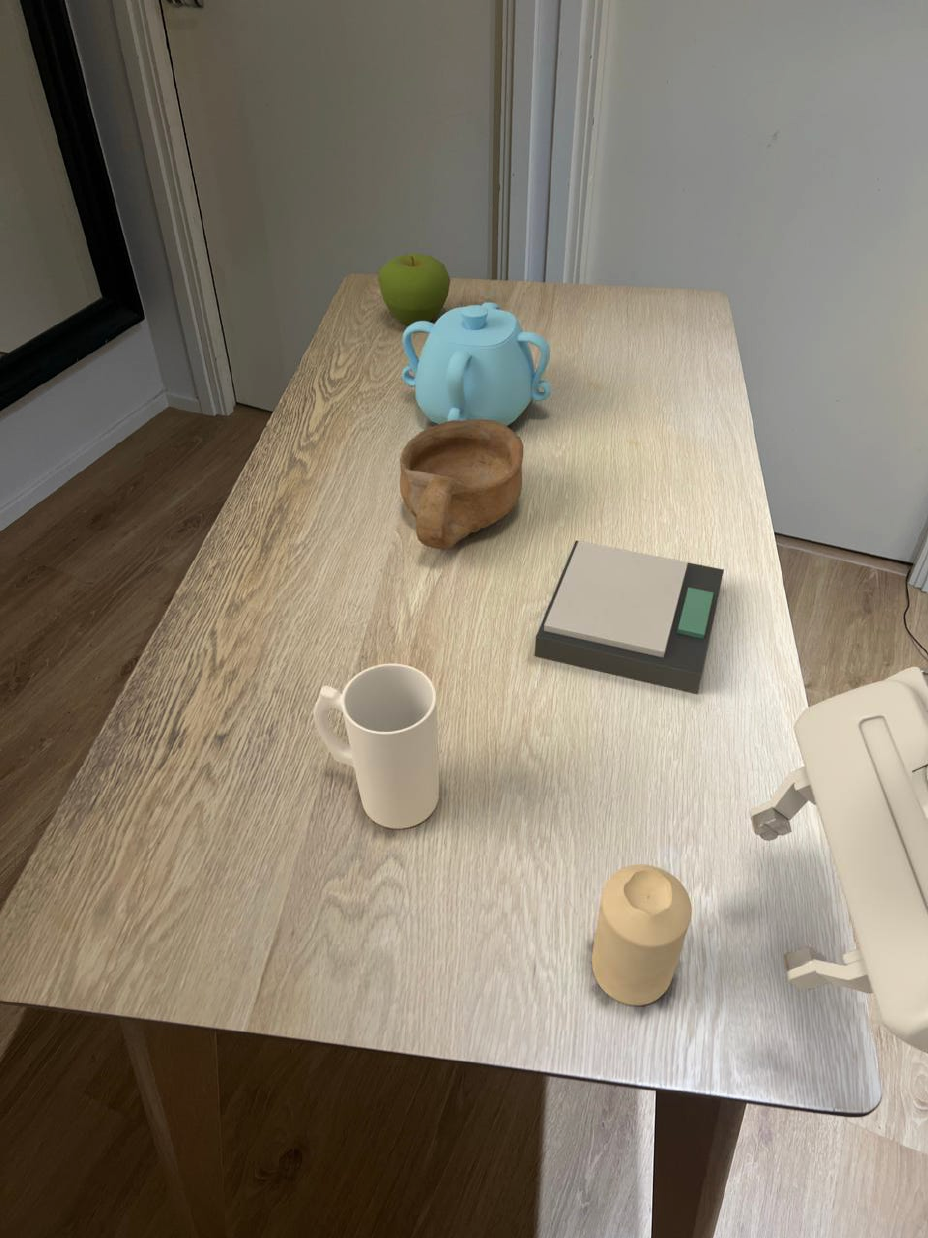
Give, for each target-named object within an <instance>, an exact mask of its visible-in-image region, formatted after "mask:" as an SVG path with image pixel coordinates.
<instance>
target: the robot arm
mask: <svg viewBox="0 0 928 1238" xmlns="http://www.w3.org/2000/svg"><path fill="white" fill-rule="evenodd" d="M927 676H928V667H918V666H911V667H907V668H904V669H902V670H900V671H899V672H897V673H894V674H892V675H890V676H888V677H887V678H885V679H883V680H879V681H875V682H872V683H868V684H865V685H862V686H859V687H857V688H853V689H850V690H847V691H844V692H842V693H839V694H837V695H834V696H832V697H829V698H827V699H824V700H822V701H820V702H818V703H814V704H813V705H811V706H809V707H807V708H806V709H805V710H803V711H802V712H801V714H800V715H799V716H798V718H797V720H796V721H795V723H794V724H793V733H794V735H795V739H796V743H797V745H798V749H799V752H800V756H801V759H802V761H803V766H802V767H799V768H797V769H795V770H793V771H791V772H789V774H787V776H786V777H785V779H784V780H783V781H782V782H781V784H780V785H779V786H778V788H777V789H776V791H775V792H774V793H773V794H772V796H770V800H768V801H765V802H763V803H761V804H760V805H757V806H755V807H753V808H751V809H750V810H749V817H750V821H751V825H752V828H753V833H754V834H755V835H756V836H759V837H760V838H761V839H762V840H763V841H766V842H767V841H768V842H771V841H774V840H776V839H778V837H779V836H782V837H783V836H785V835H788V834H789V833H792V832H793V831H792V826H791V822H790V821H791V820H792V819H793V818H794V817H795V816H796V814H798V812H799V811H801V810H802V808H803V807H804V806H805V805H806V804H807V803H808V802H810V803H811V804H812V805H814V806H816V808H817V813H818V815H819V818H820V822H821V826H822V829H823V832H824V835H825V838H826V842H827V845H828V849H829V853H830V855H831V859H832V862H833V866H834V868H835V872H836V875H837V879H838V882H839V884H840V889H841V892H842V895H843V898H844V902H845V905H846V908H847V911H848V915H849V918H850V922H851V925H852V929H853V932H854V935H855V938H856V941H857V945H858V948H856V949H854V950H851V951H848V952H845V953H843V954H842V959H843V963H844V964H845V965H843V964H838V963H833V962H829V961H828V960H827V957H826V956H825V955H824V954H823V953H821V952H819V951H817V950H816V949H815V948H814V947H812V946H811V945H809V944H807V945H804V946H802V947H799V948H797V949H796V950H795V952H794V951H788V952H786V953H784V954H783V961H784V966H785V970H786V975H787V979H788V983H789V984H791V985H792V986H794V987H795V988H796V989H798V990H801V991H810V990H813V989H816V988H819V987H823V986H825V985H829V984H833V985H835V986H839V987H841V988H846V989H850V990H853V991H857V992H861V993H864V994H869V995H871V994H873V999H874V1001H875V1005H876V1007H877V1008H876V1009H877V1011H878V1015H879V1018H880V1021H881V1023H882V1025H883V1027H884V1028H885V1029H886V1030H887V1031H888V1032H889V1033H891V1034H892V1035H894V1036H895V1037H897V1039H899V1040H900V1041H902V1042H903V1043H906V1044H907V1045H909V1046H911V1047H913V1048H914V1049H916V1050H919V1051H920V1052H923V1053H926V1054H928V677H927Z"/></svg>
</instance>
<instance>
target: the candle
mask: <svg viewBox="0 0 928 1238" xmlns="http://www.w3.org/2000/svg"><path fill="white" fill-rule="evenodd" d="M692 908H693V907H692V902H691V898H690V895H689V893H688V891H687V890H686V888H685V887H684V885H683V884H682V882H680V881H679V879H678V878H676V876H674V875H673V874H671V873H670V872H669V871H667V870H665V869H663V868H661V867H658V866H654V865H650V864H642V863H641V864H631V865H628V866H624V867H622V868H620V869H618V870H617V871H615V872H614V873H613V874H612V875H611V876H610V877H609V878H608V879H607V881H606V882H605V884H604V887H603V890H602V893H601V898H600V905H599V911H598V916H597V922H596V929H595V934H594V941H593V945H592V954H591V955H592V956H591V968H592V972H593V975H594V978H595V981H596V982H597V984H598V985H599V987H600V988H601V990H602V991H604V993H605V994H607V995H608V996H609V997H610V998H612V999H613V1000H615V1001H617V1002H619V1003H622V1004H625V1005H629V1006H644V1005H648V1004H651V1003H654V1002H656V1001H657V1000H659V999H660V998H661V997H662V996H663V995H664V994H665V993H666V992H667V990H668V989H669V987H670V985H671V982H672V979H673V977H674V976H675V975H674V974H675V971H676V968H677V965H678V962H679V960H680V959H679V958H680V955H681V952H682V950H683V946H684V943H685V939H686V936H687V933H688V930H689V927H690V924H691V919H692V915H693V914H692V913H693V909H692Z"/></svg>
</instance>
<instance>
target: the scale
mask: <svg viewBox="0 0 928 1238" xmlns="http://www.w3.org/2000/svg"><path fill="white" fill-rule="evenodd" d="M724 572H725V569H724V568H718V567H713V566H708V565H703V564H699V563H693V562H688V561H683V560H679V559H672V558H668V557H663V556H658V555H652V554H648V553H643V552H638V551H632V550H628V549H622V548H618V547H612V546H607V545H602V544H596V543H591V542H587V541H582V540H575V541H574V543H573V546H572V547H571V551H570V553H569V556H568V558H567V561H566V563H565V565H564V567H563V570H562V572H561V575H560V578H559V579H558V583H557V585H556V587H555V590H554V592H553V594H552V597H551V599H550V602H549V604H548V606H547V609H546V611H545V614H544V616H543V619H542V621H541V623H540V626H539V628H538V630H537V633H536V636H535V644H534V656H535V657H537V658H542V659H546V660H550V661H555V662H559V663H562V664H567V665H572V666H576V667H580V668H584V669H589V670H593V671H598V672H601V673H605V674H610V675H614V676H619V677H623V678H628V679H632V680H635V681H641V682H645V683H648V684H653V685H657V686H662V687H666V688H671V689H675V690H680V691H683V692H687V693H692V694H697V695H698V692H699V689H700V684H701V680H702V677H703V671H704V667H705V661H706V658H707V657H706V656H707V652H708V648H709V643H710V638H711V634H712V629H713V624H714V619H715V614H716V610H717V605H718V601H719V597H720V591H721V587H722V582H723V577H724Z"/></svg>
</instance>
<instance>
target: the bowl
mask: <svg viewBox="0 0 928 1238" xmlns="http://www.w3.org/2000/svg"><path fill="white" fill-rule="evenodd" d="M524 450H525V449H524V443H523V440H522V439H521V438H520V436H519V435H518V434H517V433H516V432H515V431H513V430H512V429H511V428H509V427H508V426H505V425H504V424H502V423H500V422H497V421H493V420H487V419H472V420H461V421H458V420H451V421H447V422H444V423H441V424H436V425H433V426H430V427H428V428H426V429H424V430H422V431H420V432H419V433H417V434H416V435H415V436H414V437H413V438H411V439H410V440H409V441H408V442H407V443H406V445H405V446H404V447H403V448H402V451H401V454H400V458H399V464H400V465H399V466H400V476H399V493H400V495H401V498H402V500H403V501H404V504H405V506H406V507H407V509H408V510H409V512H410V514H411V515H412V517H414V518H415V519H416V520H415V521H416V523H415V534H416V538H417V539H418V541H419V542H420V543H421V544H423V545H424V546H426V547H428V548H431V549H435V550H436V549H437V550H445V549H450V548H452V547H454V545H456V544H457V543H458V542H459V541H461V540H462V539H464V538H467V536H468V535H469V534H471V533H476V532H478V531H480V530H481V529H484V528H487V527H489V526H490V525H493V524H495V523H496V522H497V521H499V520H501V519H503V518H504V517H505V515H508V514H509V513H510V512H511V510H512V508H514V507H515V506H516V505H517V502H518V500H519V498H520V496H521V494H522V489H523V461H524Z"/></svg>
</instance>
